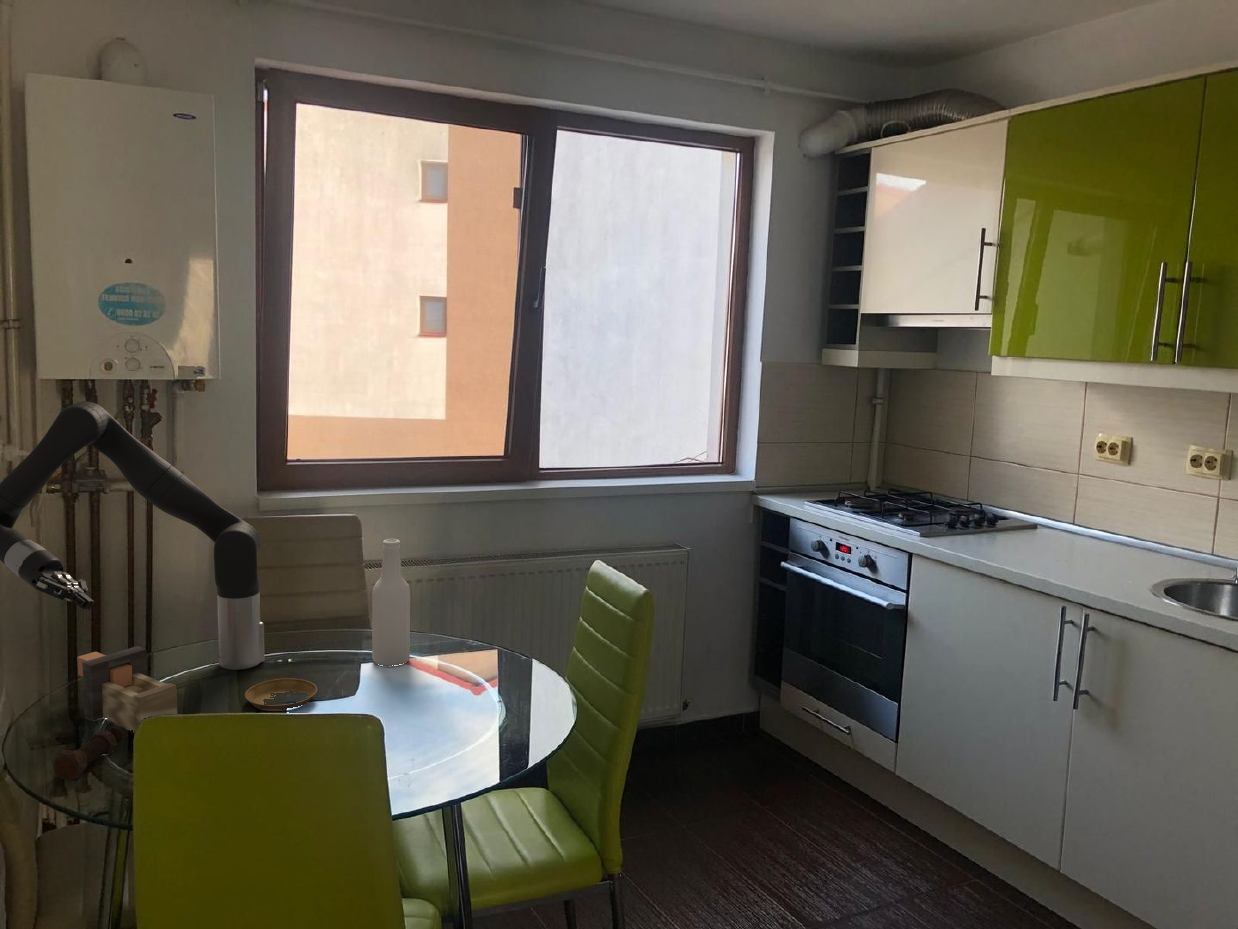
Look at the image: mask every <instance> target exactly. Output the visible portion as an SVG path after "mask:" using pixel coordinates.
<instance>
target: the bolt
mask: <svg viewBox="0 0 1238 929" xmlns="http://www.w3.org/2000/svg"><path fill="white" fill-rule="evenodd" d="M123 736H124V731H122V730H120V729H119V728H116V727H113V726H112V727H111V728H108V730H97V731H95V732H94V733H93V735H92V736H91V737H90V739H89V741H88V742H87V743H86V744H84V745H82V746H81V747H79V748H78V749H76V750H71V749H70V750H69V749H63V750H61V751H60V752H59V753H58V755H57V756H56V757H55V760H54V762H53V767H52V768H53V771H54V772H55V774H56V776H57V777H59V779H61V780H65V781H76V780H79V779H80V778H81V777H82V775H83V773H84V771H85V770H86V768H87V766H88V765H89V764H90V763H91V762H92V761H95V760H96V759H97V758H98V757H100V755H102V754H109V753H111V752H112V751H113V752H114V750H115V748H116V746H117V744H119V743H120V742H122V741H123V739H124V737H123ZM113 752H112V753H113ZM112 753H111V754H112ZM109 755H110V754H109Z"/></svg>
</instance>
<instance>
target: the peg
mask: <svg viewBox="0 0 1238 929" xmlns="http://www.w3.org/2000/svg"><path fill="white" fill-rule="evenodd" d="M102 656H106V654H103V653H102V652H101V653H100V652H98V651H93V652H89V653H86V654H82V655H79V656H76V657H77V658H76V659H77V661H76V662H77V674H78V676H80V677H82V678H83V667H82V662H86V661H89V660H92V659H96V658H99V657H102ZM109 682H112V683H114V684H117V685H119V686H121V687H125V686H128V685H131V684H133V683H132V666H131V665H128V664H126V663H124V664H120V665H117V666H114V667H111V668H109Z"/></svg>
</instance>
